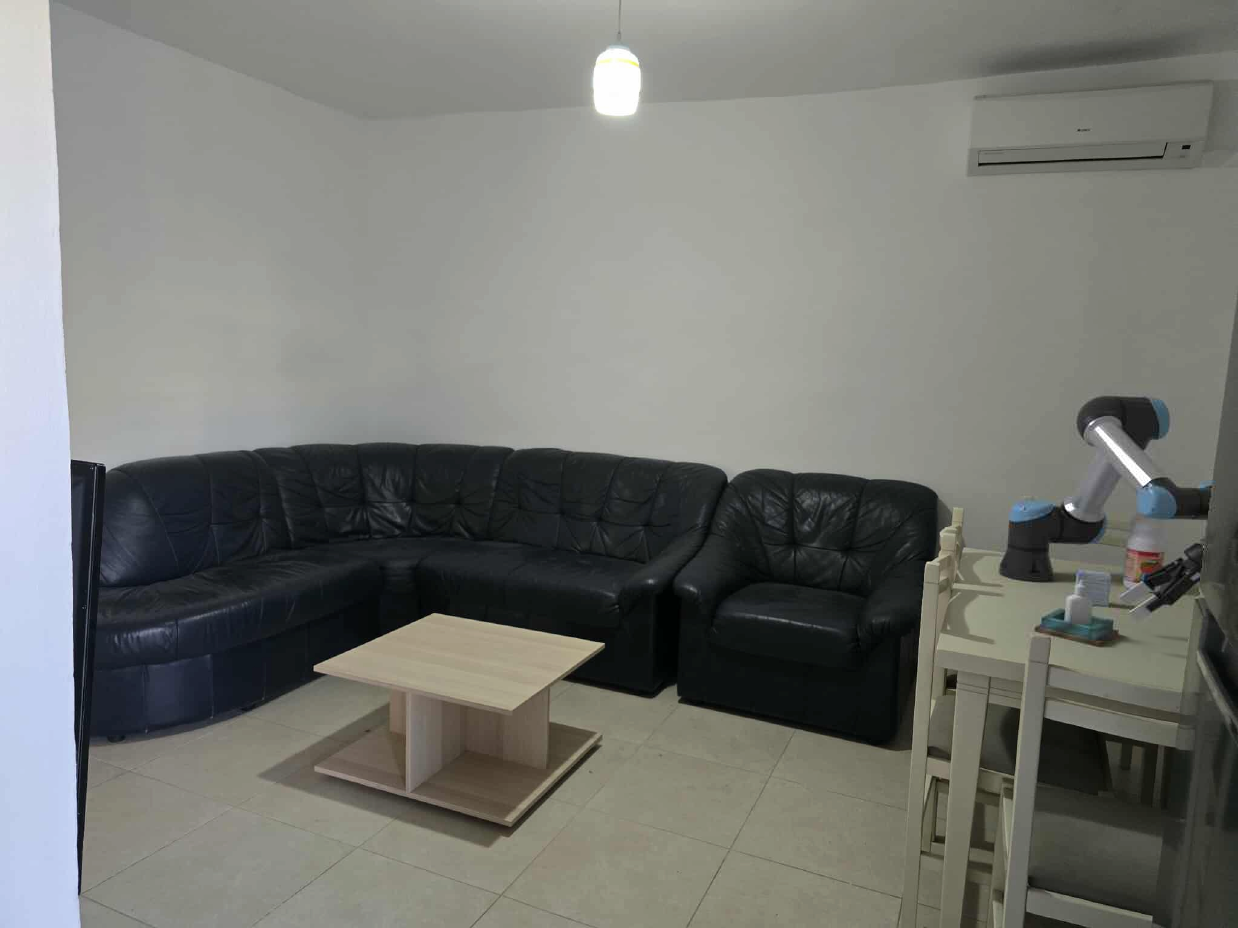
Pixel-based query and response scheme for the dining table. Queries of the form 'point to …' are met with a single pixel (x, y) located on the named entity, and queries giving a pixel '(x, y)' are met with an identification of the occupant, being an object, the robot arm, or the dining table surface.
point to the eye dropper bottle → (1079, 606)
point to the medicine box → (1096, 586)
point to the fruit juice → (1144, 549)
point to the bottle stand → (1077, 629)
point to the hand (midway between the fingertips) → (1127, 609)
